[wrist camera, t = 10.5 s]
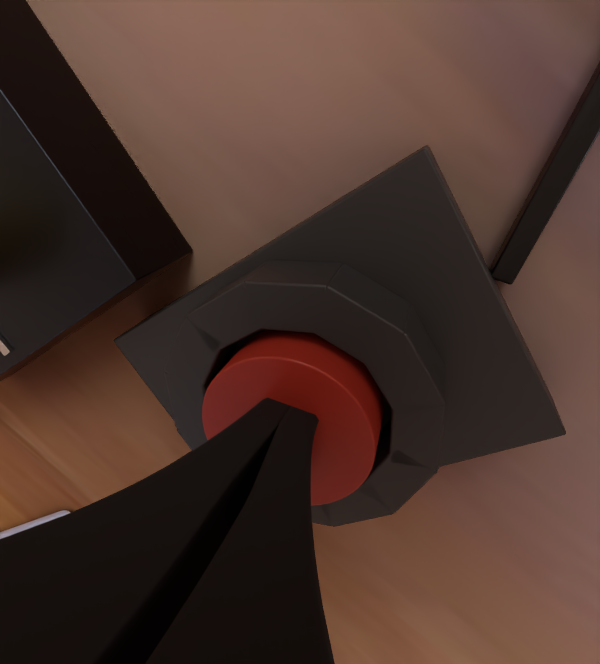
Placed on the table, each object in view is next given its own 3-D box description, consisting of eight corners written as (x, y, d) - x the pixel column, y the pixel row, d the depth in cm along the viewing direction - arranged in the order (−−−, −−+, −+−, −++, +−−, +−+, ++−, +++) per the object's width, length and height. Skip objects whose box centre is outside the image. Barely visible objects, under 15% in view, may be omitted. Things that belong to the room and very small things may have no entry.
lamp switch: (283, 475, 13) (263, 520, 12) (202, 361, 12) (168, 394, 11) (413, 436, 11) (409, 484, 10) (330, 296, 10) (311, 326, 9)
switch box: (262, 483, 17) (224, 559, 14) (143, 320, 16) (71, 367, 13) (552, 398, 12) (588, 486, 9) (427, 143, 11) (422, 152, 8)
